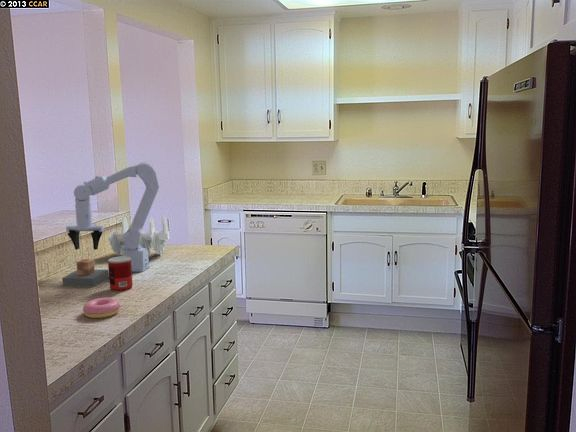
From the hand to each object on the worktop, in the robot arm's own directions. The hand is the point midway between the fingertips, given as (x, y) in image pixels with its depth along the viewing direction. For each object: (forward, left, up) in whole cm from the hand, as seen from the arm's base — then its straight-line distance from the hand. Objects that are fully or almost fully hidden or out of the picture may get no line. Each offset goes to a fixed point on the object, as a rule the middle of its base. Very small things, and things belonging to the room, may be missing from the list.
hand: (86, 249), depth 205 cm
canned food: (-22, +18, -10) cm, 30 cm away
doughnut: (-27, +43, -10) cm, 52 cm away
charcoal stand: (-5, +11, -10) cm, 15 cm away
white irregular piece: (-10, -31, -10) cm, 34 cm away
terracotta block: (-5, +11, -7) cm, 13 cm away
